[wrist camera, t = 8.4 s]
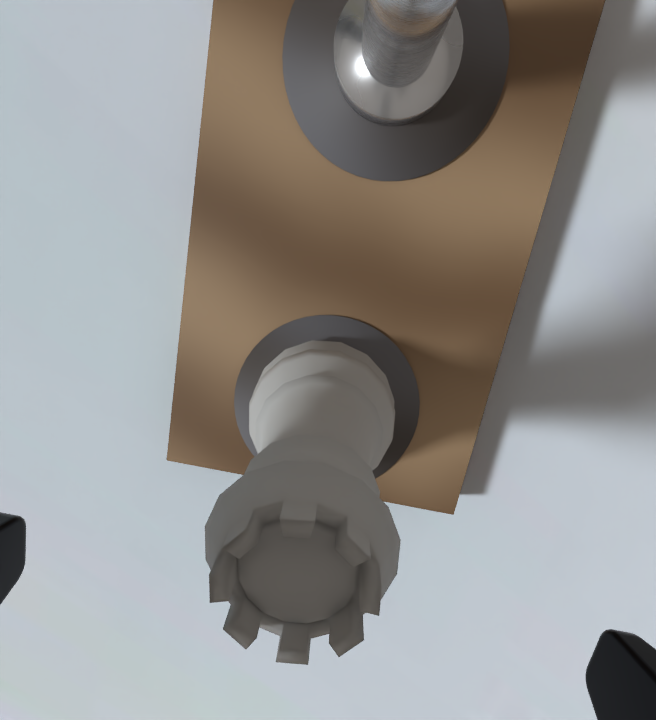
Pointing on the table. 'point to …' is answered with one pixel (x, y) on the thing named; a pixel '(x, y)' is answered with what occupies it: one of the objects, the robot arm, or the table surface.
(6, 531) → the robot arm
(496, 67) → the board
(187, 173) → the table surface
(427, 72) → the point post
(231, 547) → the rook chess piece
